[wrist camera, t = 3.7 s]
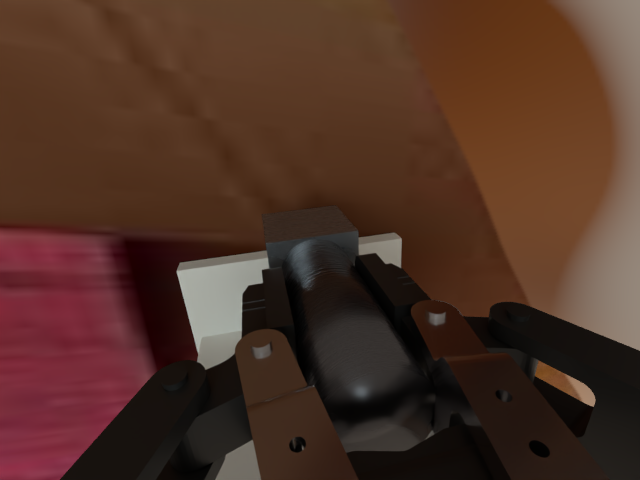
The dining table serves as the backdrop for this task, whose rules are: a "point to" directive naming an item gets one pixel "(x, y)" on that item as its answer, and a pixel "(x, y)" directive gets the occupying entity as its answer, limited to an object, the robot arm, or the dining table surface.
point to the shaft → (347, 334)
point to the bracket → (226, 317)
